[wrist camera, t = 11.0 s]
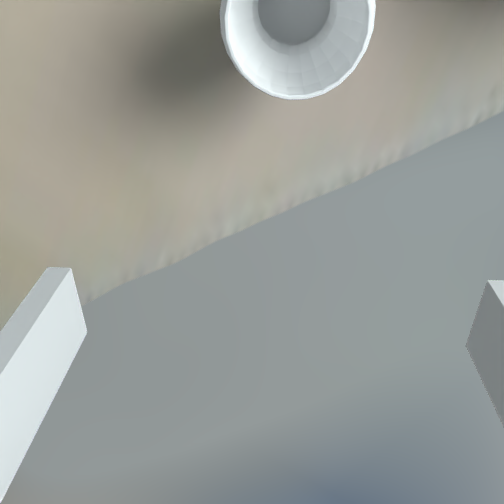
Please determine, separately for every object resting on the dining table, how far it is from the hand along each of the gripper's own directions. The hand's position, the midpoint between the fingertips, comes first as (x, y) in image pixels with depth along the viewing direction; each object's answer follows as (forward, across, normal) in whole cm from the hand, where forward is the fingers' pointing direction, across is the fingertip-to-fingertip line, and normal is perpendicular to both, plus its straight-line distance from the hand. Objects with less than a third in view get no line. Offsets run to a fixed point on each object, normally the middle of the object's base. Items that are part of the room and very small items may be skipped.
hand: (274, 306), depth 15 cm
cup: (+37, +1, +6) cm, 37 cm away
